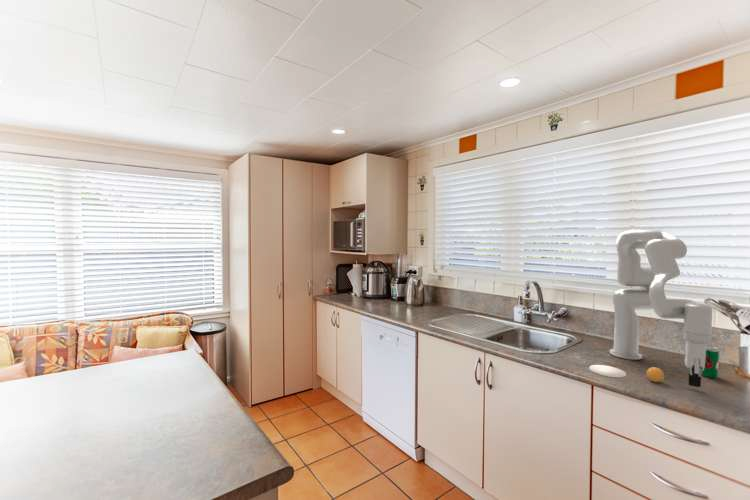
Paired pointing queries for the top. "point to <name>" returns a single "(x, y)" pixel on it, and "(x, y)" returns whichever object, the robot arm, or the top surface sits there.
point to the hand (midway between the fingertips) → (694, 385)
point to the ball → (655, 374)
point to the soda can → (711, 362)
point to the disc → (607, 371)
